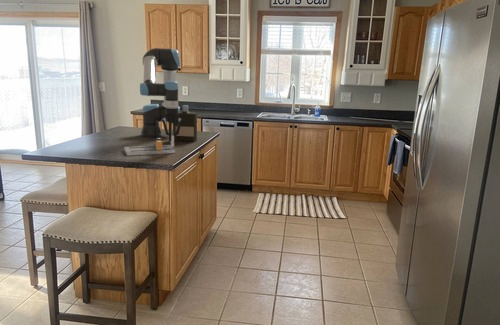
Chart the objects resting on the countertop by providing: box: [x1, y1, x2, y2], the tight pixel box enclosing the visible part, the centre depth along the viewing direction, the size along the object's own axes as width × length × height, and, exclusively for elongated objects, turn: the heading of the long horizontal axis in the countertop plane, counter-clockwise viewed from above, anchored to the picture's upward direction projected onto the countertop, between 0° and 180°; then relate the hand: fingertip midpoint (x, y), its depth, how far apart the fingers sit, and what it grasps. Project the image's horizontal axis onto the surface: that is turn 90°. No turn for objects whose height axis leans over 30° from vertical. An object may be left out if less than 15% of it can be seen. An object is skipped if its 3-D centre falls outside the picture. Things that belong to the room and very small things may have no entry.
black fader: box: [155, 137, 163, 142], centre depth 225 cm, size 4×3×5 cm
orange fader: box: [155, 140, 163, 150], centre depth 216 cm, size 4×3×5 cm
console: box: [123, 144, 176, 157], centre depth 219 cm, size 15×28×2 cm, turn 114°
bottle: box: [175, 104, 198, 143], centre depth 254 cm, size 8×16×25 cm, turn 88°
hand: (172, 146), depth 220 cm, fingers closed
